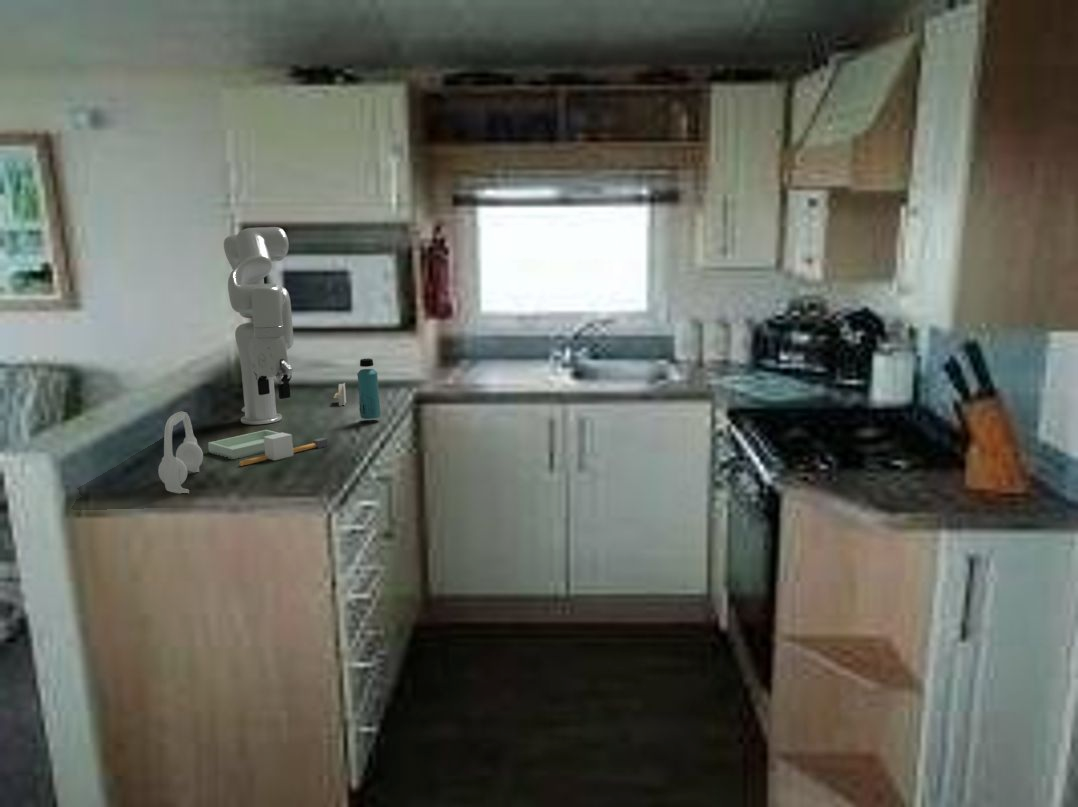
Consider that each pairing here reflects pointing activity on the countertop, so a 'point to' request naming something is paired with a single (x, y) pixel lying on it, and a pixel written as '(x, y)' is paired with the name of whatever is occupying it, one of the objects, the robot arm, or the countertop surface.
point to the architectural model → (341, 394)
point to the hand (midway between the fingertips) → (274, 396)
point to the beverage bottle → (368, 391)
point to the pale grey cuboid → (278, 446)
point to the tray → (240, 445)
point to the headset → (179, 455)
